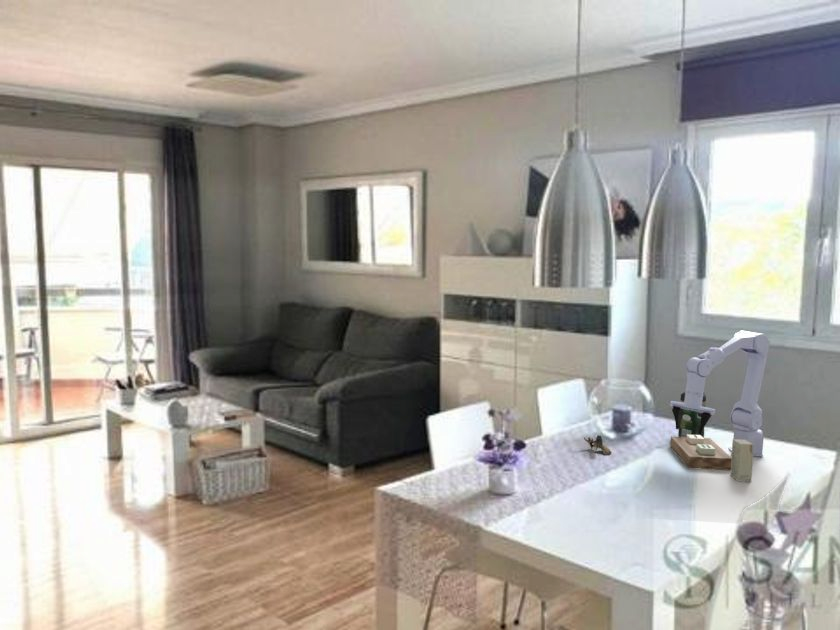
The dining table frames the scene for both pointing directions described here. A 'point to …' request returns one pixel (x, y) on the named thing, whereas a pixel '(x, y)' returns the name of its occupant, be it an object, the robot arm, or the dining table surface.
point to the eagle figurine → (598, 445)
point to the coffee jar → (690, 420)
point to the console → (700, 455)
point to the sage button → (705, 449)
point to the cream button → (695, 439)
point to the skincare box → (742, 460)
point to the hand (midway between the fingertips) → (688, 431)
